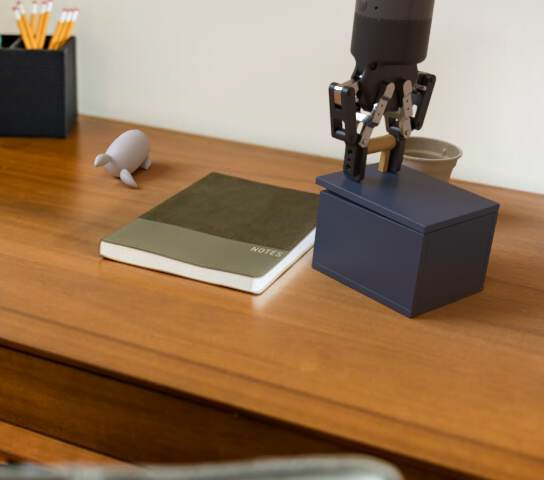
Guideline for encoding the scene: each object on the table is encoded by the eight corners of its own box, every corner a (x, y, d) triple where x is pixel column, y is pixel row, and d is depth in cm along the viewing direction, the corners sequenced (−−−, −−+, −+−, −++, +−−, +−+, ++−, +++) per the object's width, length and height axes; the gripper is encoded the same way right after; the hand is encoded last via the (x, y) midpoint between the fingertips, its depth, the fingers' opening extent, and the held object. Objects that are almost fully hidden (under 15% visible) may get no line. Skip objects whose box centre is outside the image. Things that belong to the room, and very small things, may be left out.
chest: (311, 267, 97) (319, 190, 93) (383, 244, 103) (394, 172, 100) (410, 318, 87) (424, 234, 83) (483, 290, 93) (498, 211, 90)
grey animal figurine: (115, 133, 126) (77, 171, 117) (140, 115, 123) (103, 153, 114) (143, 167, 128) (107, 208, 118) (168, 151, 125) (134, 191, 115)
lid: (314, 183, 94) (320, 139, 92) (389, 165, 100) (396, 124, 98) (423, 234, 83) (433, 186, 81) (498, 211, 90) (509, 165, 88)
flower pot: (406, 231, 107) (416, 162, 104) (359, 204, 115) (368, 139, 112) (467, 221, 111) (479, 155, 108) (418, 196, 119) (428, 133, 115)
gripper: (372, 21, 81) (351, 197, 88) (470, 11, 89) (444, 173, 96) (314, 9, 87) (298, 175, 93) (411, 0, 95) (390, 155, 102)
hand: (372, 173), depth 95 cm, fingers closed on lid, 5 cm apart
